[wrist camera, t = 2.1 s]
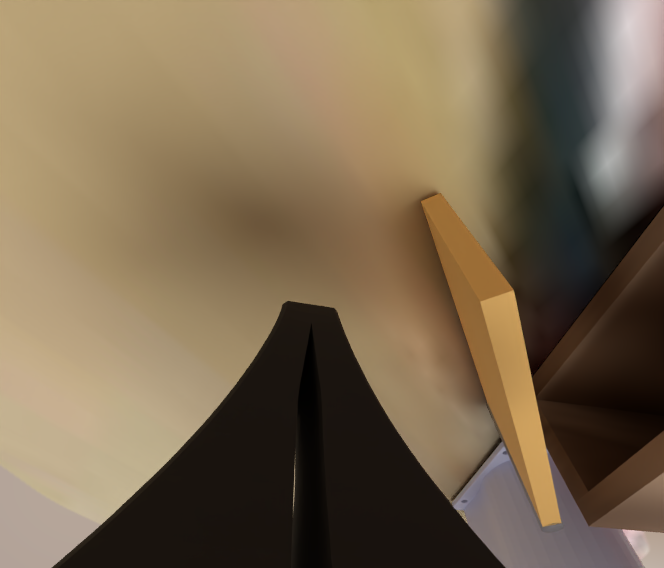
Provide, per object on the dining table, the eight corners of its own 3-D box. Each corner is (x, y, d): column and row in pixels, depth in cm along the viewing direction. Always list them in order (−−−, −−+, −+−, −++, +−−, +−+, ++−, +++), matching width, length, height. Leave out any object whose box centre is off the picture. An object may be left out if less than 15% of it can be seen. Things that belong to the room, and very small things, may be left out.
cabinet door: (504, 406, 21) (565, 529, 16) (488, 410, 22) (542, 534, 16) (443, 192, 14) (518, 288, 8) (418, 202, 14) (475, 302, 9)
